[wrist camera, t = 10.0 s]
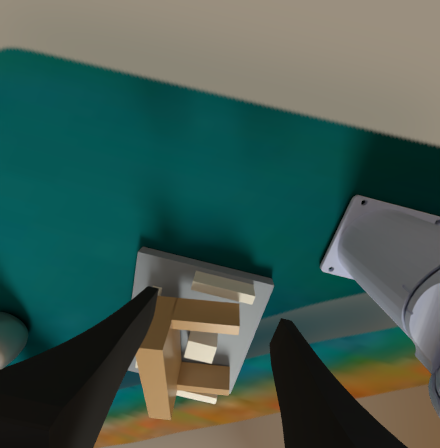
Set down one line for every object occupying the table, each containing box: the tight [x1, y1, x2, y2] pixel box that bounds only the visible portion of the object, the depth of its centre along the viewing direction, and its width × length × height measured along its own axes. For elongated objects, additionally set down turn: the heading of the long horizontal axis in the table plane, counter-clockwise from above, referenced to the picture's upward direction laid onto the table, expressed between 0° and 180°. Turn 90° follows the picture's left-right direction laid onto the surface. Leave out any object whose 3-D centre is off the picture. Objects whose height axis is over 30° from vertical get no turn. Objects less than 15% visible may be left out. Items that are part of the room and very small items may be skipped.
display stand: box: [128, 247, 274, 404], centre depth 23 cm, size 14×17×3 cm
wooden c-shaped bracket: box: [135, 296, 240, 420], centre depth 21 cm, size 8×12×5 cm, turn 176°
